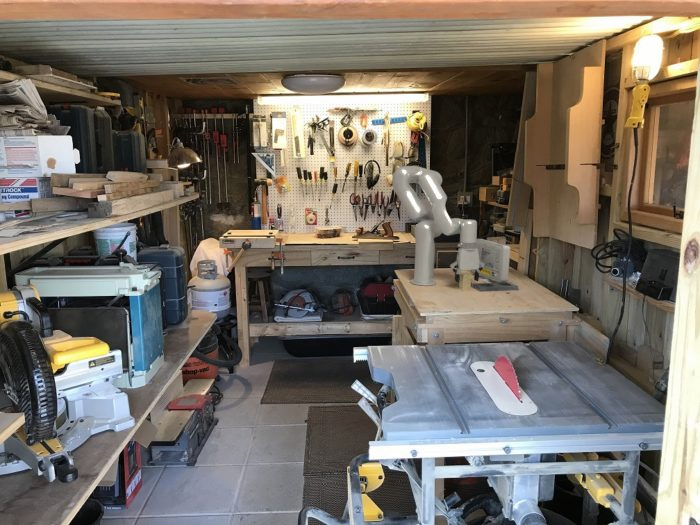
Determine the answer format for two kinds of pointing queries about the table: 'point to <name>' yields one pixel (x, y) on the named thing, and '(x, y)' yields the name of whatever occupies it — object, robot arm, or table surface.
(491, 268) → the network device
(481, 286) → the grey flat plate
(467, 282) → the brass block
